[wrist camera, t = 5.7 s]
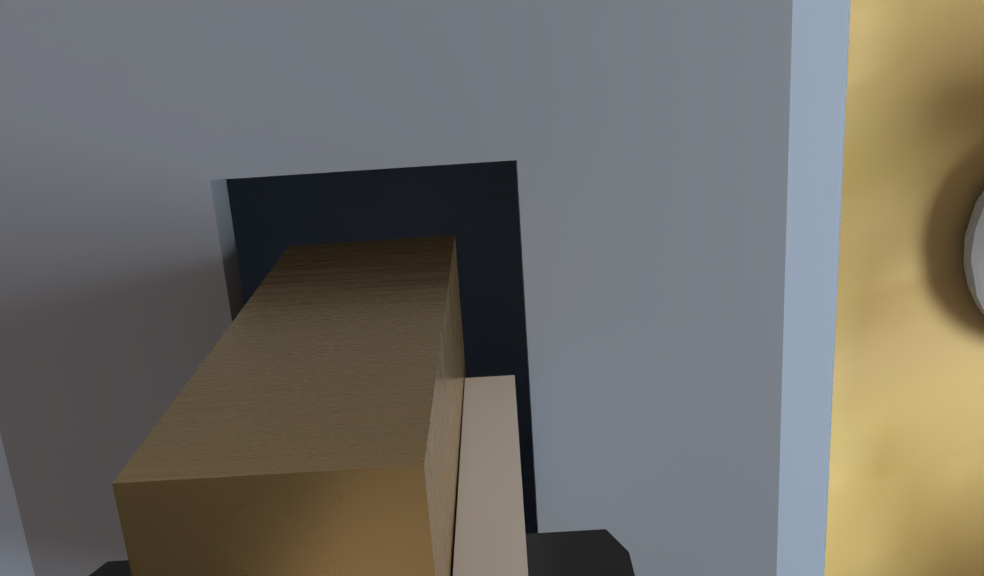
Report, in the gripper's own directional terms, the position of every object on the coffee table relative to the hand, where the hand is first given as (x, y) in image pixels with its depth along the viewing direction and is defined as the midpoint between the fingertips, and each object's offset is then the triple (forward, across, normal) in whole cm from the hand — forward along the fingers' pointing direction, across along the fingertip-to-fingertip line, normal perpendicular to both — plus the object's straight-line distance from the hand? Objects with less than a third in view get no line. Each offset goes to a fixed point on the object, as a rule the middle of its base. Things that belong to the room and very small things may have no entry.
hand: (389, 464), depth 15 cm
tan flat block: (+1, 0, 0) cm, 1 cm away
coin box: (+13, 0, 0) cm, 13 cm away
